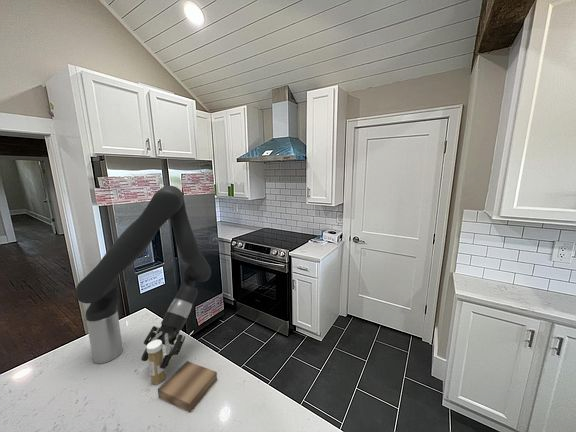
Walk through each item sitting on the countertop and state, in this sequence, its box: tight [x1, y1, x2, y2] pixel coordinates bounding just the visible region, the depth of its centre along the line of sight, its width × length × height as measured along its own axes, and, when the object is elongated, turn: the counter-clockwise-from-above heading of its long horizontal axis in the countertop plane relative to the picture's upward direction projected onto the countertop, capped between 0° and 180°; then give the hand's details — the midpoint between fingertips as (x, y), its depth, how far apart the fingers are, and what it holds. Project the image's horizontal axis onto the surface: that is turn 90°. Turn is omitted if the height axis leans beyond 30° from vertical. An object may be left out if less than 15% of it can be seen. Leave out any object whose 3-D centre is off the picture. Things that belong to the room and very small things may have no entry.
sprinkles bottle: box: [145, 340, 167, 385], centre depth 78 cm, size 5×5×13 cm
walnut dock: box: [157, 360, 218, 413], centre depth 75 cm, size 13×12×3 cm
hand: (152, 364), depth 77 cm, fingers open, 8 cm apart
